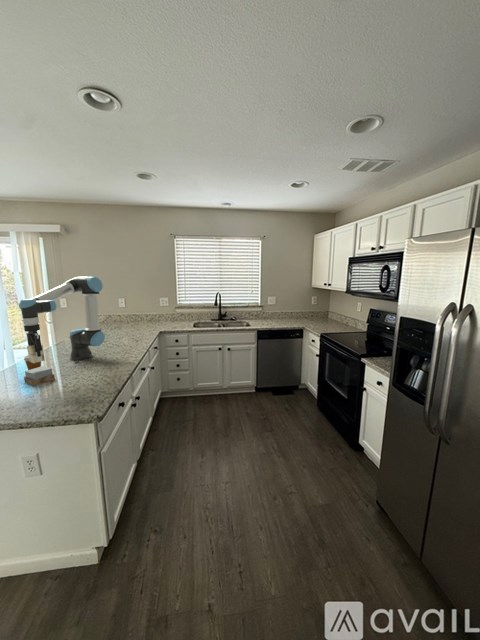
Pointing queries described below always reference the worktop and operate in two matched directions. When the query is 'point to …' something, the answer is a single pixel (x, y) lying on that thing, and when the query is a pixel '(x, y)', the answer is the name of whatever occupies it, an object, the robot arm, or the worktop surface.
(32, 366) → the disposable coffee cup
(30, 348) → the birch block
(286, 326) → the worktop surface
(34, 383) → the base slab
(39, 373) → the top slab
